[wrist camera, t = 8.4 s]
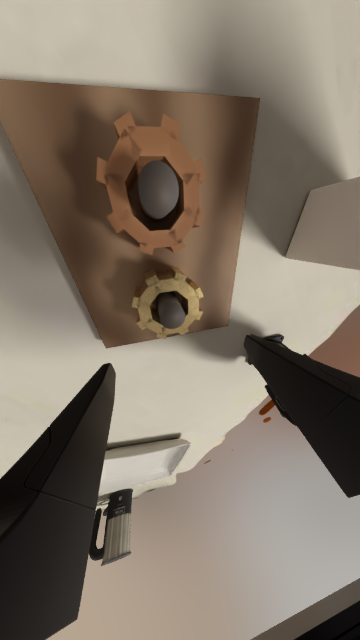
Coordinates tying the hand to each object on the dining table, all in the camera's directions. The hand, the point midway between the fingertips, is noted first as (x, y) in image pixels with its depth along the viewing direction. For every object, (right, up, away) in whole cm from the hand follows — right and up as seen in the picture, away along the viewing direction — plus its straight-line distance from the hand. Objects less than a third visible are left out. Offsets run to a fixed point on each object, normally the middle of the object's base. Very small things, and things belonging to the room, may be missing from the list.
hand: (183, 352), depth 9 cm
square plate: (-14, -41, +36) cm, 56 cm away
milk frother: (-27, -74, +52) cm, 94 cm away
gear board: (-3, +9, +7) cm, 12 cm away
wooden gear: (-2, +5, +8) cm, 10 cm away
